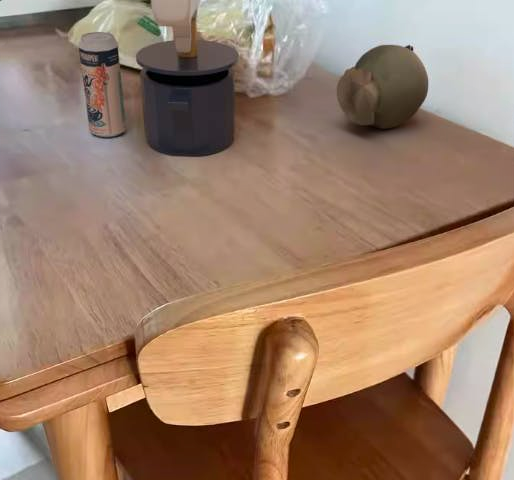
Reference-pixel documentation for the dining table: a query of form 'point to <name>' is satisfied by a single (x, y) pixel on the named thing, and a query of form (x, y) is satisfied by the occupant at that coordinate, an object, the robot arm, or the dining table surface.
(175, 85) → the pot
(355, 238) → the dining table surface
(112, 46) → the beer can
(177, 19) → the robot arm
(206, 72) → the lid
